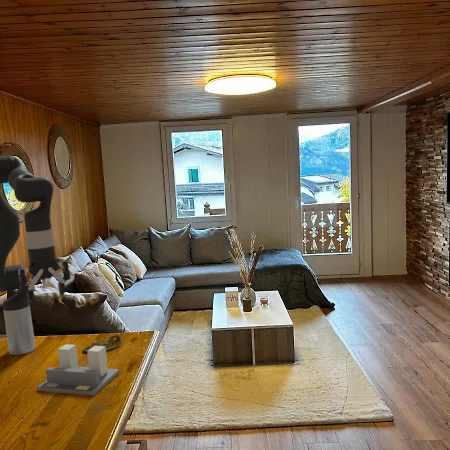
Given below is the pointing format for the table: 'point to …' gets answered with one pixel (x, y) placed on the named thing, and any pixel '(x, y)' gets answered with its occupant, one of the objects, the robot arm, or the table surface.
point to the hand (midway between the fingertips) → (47, 298)
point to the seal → (107, 344)
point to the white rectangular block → (68, 357)
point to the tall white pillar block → (98, 359)
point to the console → (76, 380)
